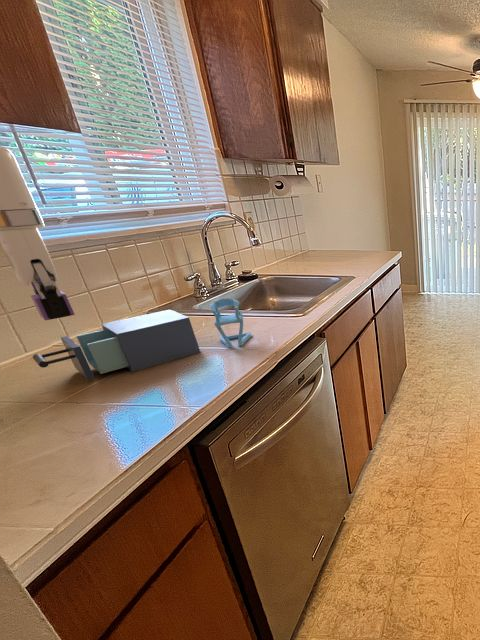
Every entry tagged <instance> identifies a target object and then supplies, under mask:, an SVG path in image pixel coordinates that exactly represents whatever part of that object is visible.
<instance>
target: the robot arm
mask: <svg viewBox="0 0 480 640" xmlns="http://www.w3.org/2000/svg"><path fill="white" fill-rule="evenodd" d="M40 228H46V225H45V223H44V220H43V218H42V215H41V213H40V211H39V208H38V206H37V204H36V202H35V199H34V198H33V195H32V193H31V191H30V188H29V186H28V184H27V181H26V179H25V176H24V174H23V173H22V170H21V168H20V165H19V163H18V161H17V158H16V157H15V155H14V154H13V152H12V151H11V150H10V149H9V148H7V147H5V146H3V145H2V146H1V145H0V245H1V247H2V250H3V252H4V254H5V256H6V258H7V260H8V262H9V264H10V266H11V269H12V271H13V273H14V275H15V277H16V279H17V281H18V282H20V283H21V284H23V285H25V286H29V285H31V288H32V290H33V292H34V295H37V294H39V295H40V297H41V299H40V301H41V303H42V305H43V307H44V310H45V312H46V314H47V316H48V318H49V319H51V320H55V319H60V318H66V317H71V316H70V315H71V313H70V311H69V309H68V307H67V304H66V302H65V300H64V298H63V296H61V294H60V292H59V291H60V289H59V288H58V286H57V283H56V282H58V280H59V275H58V273H57V270H56V267H55V264H54V262H53V260H52V257H51V255H50V252H49V250H48V248H47V245H46V244H45V242H44V239H43V237H42V235H41V233H40V230H39V229H40Z"/></svg>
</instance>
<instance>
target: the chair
mask: <svg viewBox="0 0 480 640" xmlns="http://www.w3.org/2000/svg"><path fill="white" fill-rule="evenodd" d="M239 305H240V301H239V300H236V299H233V298H222V299H219V300H216V301H214V302H212V303H211V304H209V307H210V309H211V311H212V314H213V315H214V317H215V320H214V327H216V329H217V330H218V332H219V334H220V335H221V337H219V341H220V342H221V343H222V344H224V345H225V346H226V347H227V348H228V349H230V348H233V345H232V341H230V340H232V339H237V344H238V346H239V347H242V346H243V345H244V344H245V343H246V342H247V341H248V340H249V339H250V338H251V337H252V333H251V332H244V315H243V312H240V309H239V308H240V307H239ZM228 306H232V307H233V306H234V310H235V313H234V314H228V315H221V312H220V310H219V308H222V307H228ZM230 324H239V329H238V330H239V331H238V334H232V335H227V334H226V333H225V332H224V329H223V328H222V326H225V325H230ZM243 332H244V333H243Z"/></svg>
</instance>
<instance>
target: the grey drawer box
mask: <svg viewBox="0 0 480 640" xmlns="http://www.w3.org/2000/svg"><path fill="white" fill-rule="evenodd" d="M101 327H102V330H104V329H106V330H108V331H109V332H111V333H112V334H114V335H115V336H117V337H118V340H119V342H120V345H121V347H122V349H123V352H124V354H125V357H126V359H127V361H128V364H129V366H127V367H126V368H127V369H128V370H130V371H131V372H137V371H140V370H145V369H147V368H150V367H154V366H158V365H161V364H164V363H167V362H170V361H174V360H178V359H181V358H185V357H189V356H191V355H195V354H198V353H200V352H201V350H200V346H199V344H198V340H197V337H196V333H195V332H194V328H193V326H192V323H191V319H190V317H189V316H187V315H184V314H182V313H181V312H177V311H175V310H172V309H169V308H168V309H166V310H160V311H155V312H152V313H146V314H142V315H136V316H133V317H128V318H124V319H117V320H114V321H109V322H104V323H101Z"/></svg>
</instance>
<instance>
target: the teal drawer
mask: <svg viewBox="0 0 480 640" xmlns="http://www.w3.org/2000/svg"><path fill="white" fill-rule="evenodd" d="M75 337H76V339H77V340H78V343H77V342H76V341H74V340H73V339H72V338H70V337H69V336H68V335H65V336H61V337H60V339H61V341H62V343H63V347H64V349H60V350H57V351H56V350H55V351H52V352H51V351H50V352H48V353H43V354H40V353H35V354H33V355H32V359H33V361H34V362H35V363H36V364H37V365H38V366H39V367H40V368H43V369H44V368H47V367H49V365H51V364H55V363H59V362H60V363H61V362H63V361H67V360H71V362H72V364H73V366H74V369H75V370H77V372H79V373H80V374H81V375H82V376H83V377H84V378H85V379H86V380H87V381H89V380H93V379H95V375H94V374H93V372H92V368H93V369H95V370H96V371H97V372H98V374H100V375H103V374H106V373H110V372H113V371H117V370H120V369H123V368H127V366H129V364H128V361H127V359H126V357H125V354H124V352H123V349H122V347H121V345H120V342H119V340H118V337H117V336H115V335H114V334H112V333H111V332H109V331H108V330H106V329H104V330H103V329H100V330H95V331H91V332H86V333H82V334H77V335H75ZM65 353H67V355H66V356H62V357H59V358H55V359H50V360H47V359H45V358H49V357H52V356H57V355H61V354H65ZM90 366H91V367H92V368H91V367H90Z"/></svg>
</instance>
